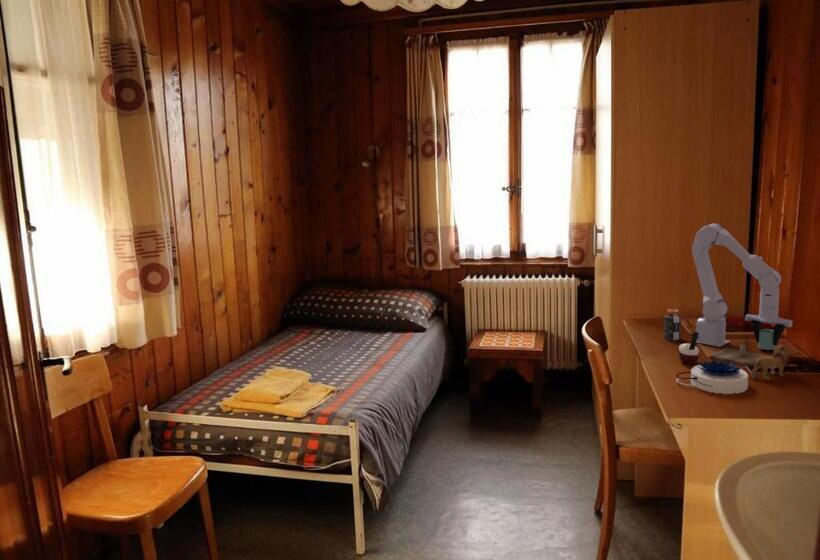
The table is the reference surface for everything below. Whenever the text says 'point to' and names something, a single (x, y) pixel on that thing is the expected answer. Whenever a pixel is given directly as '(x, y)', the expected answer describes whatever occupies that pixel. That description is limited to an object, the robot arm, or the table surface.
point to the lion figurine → (772, 362)
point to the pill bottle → (672, 325)
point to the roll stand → (737, 356)
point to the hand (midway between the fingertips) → (766, 343)
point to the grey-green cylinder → (766, 339)
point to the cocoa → (689, 351)
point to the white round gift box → (718, 377)
